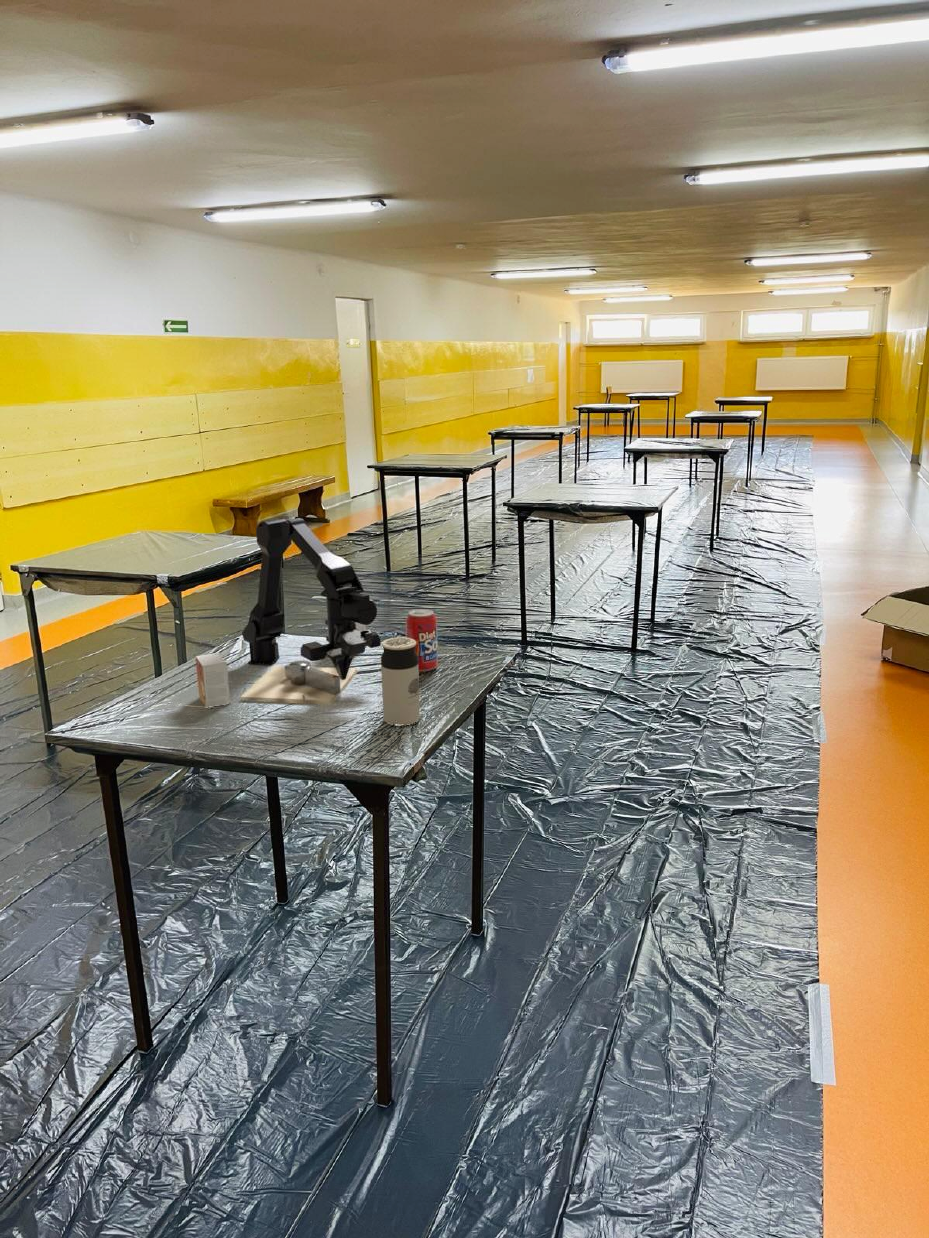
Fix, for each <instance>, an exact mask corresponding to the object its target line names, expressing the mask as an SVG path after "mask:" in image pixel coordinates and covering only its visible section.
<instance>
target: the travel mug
mask: <svg viewBox="0 0 929 1238" xmlns="http://www.w3.org/2000/svg"><path fill="white" fill-rule="evenodd" d="M415 645H416V641H415V640H414V639H411V638H406V636H405V637H403V636H402V637H397V636H396V637H392V638H387V639H385V640H383V641H381V646H382V648H383V652H382V654H381V656H380V664H381V667H380V670H381V692H382V693H381V694H382V712H383V713H382V714H383V718H382V719H383V722H384V721H385V722H388V723H391V724H404V725H405V724H406V725H407V724H412V723H414V724H416V723H418V722H419V721H420V720H421V714H420V713H421V711H420V682H419V680H420V679H419V678H420V677H419V675H420V672H418V655H417V653H416V652H415ZM419 719H420V720H419ZM385 722H384V723H385ZM415 722H416V723H415ZM412 725H413V724H412Z"/></svg>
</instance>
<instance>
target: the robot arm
mask: <svg viewBox="0 0 929 1238" xmlns="http://www.w3.org/2000/svg"><path fill="white" fill-rule="evenodd" d="M255 531H256V532H255V533H256V544H257V545H258V547H259V549H260V551H261V562H260V563H261V564H260V573H259V585H258V596H257V603H256V604H255V605H254V607H253V608H252V610H251V611H250V613H249V616H248V617H249V618H248V623H247V624H246V626H245V627H244V629H243V630H242V633H241V635H242V637H243V641H245V642H247V643H248V646H249V656H250V660H249V661H247V663H248V664H249V665H267V666H269V665H270V666H271V665H273V664H274V663H275V662H276V661H277V660H278V659H279V658H280V657H281V656H280V652H279V643H278V642H277V640H276V639H277V638H280V637H281V636H282V630H283V627H284V626H285V625H284V620H285V614H284V612H282V611H281V610H280V608H279V605H278V601H279V591H280V584H281V583H280V580H281V571H282V564H283V563H282V562H283V556H284V553H286V551H287V549H288V548H289V547H290V545H291V541H292V543H294V545H295V546H296V547H297V548H298V549H299V550H300V552H301V553H302V554H303V555H304V556H305V557H306V558H307V560H308V561H309V562H310V563H311V564H312V566H314V569H315V572H316V574H315V575H316V578H317V580H318V582H319V583H320V584H321V586H322V587H323V588H324V590H323V591H321V592H320V596H321V597H324V598H326V616H327V619H325V620H324V624H325V625H327V631H328V633H327V634H328V635H327V636H325V640H326V642H328V643H324V644H322V643H320V642H318V641H311V642H307V643H303V644H302V646H301V647H300V656H301V657H303V658H305V659H307V661H309V662H317V661H320V660H321V661H322V660H324V659H325V658H326V657H328V659H329V660H330V661H331V664H332V665H333V666H334V667H333V668H335V669H336V671H337V673H338V675H339V677H340V679H341V680H345V679H346V677H347V673H348V670H349V668H351V667H350V666H351V663H352V661H353V659H354V658H355V657H356V656H357V655H359V654H364V653H365V652H366V651H365V650H366V649H365V647H366V648H367V647H369V648H370V649H373V648H377V647H381V646H382V645H381V644H382V639H381V636H380V635H379V634H378V633H375V632H374V631H371V630H370V629H366V630H364V631H357V629H356V624H355V622H356V623H360V624H363V625H366V626H368V625H371V624H372V623H373V622H374V621H375V619H376V618H377V615H378V608H377V606H376V604H375V602H374V601H372V600H370V595H369V594H366V593H364V592H365V590H364V588H363V584H362V582H361V581H360V579H359V577H358V576H357V574H356V571H355V569H354V567H353V566H352V564H350V563H349V562H348V561H346V560H345V558H343V557H341V556H339V555H335V554H333V553H332V552H330V550H329V549H328V548H327V547H326V546H325V545H324V543H323V542H322V541H321V540H320V539H319V538H318V537H317V535H315V534H314V532H313V531H312V530H311V529H310V528H309V527H308V526H307V523H306V521H305V520H304V519H303V518H301V517H296V518H290V519H289V518H288V519H286V518H284V517H283V518H277V519H269V520H265V521H264V520H263V521H261V522H259V523H257V526H256V530H255ZM363 593H364V594H363ZM334 646H335V647H334Z"/></svg>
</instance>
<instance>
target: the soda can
mask: <svg viewBox="0 0 929 1238" xmlns="http://www.w3.org/2000/svg"><path fill="white" fill-rule="evenodd" d="M405 638H411V639H414V640H415V641H416V645H415V652H416V653H417V655H418V672H419V673H425V672H426V671H427V672H429V671H432V670H434V669H436V668H437V667H438V665H439V664H438V663H439V659H438V656H439V654H438V653H439V650H438V618H437V616H436V615H435V612H434V610H431V609H427V608H419V609H412V610H409V611H408V615H407V616H406V618H405ZM427 672H426V673H427Z"/></svg>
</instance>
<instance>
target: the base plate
mask: <svg viewBox="0 0 929 1238" xmlns="http://www.w3.org/2000/svg"><path fill="white" fill-rule="evenodd" d="M285 666H286V665H273V666H272V667H271V668H270V669H268V671H266V672H265V673H264V674H263V675H262V676H261V677H260V678H259V679H257V681H256V682H255V683H253V685H251V686H250V687H249V688H248V689H247V690H246V691H245V692H244V693H243V694H242V695H240V701H241V700H253V701H252V702H259V701H260V703H261V702H262V703H265V702H266V703H281V702H283V704H284V703H285V704H287V703H288V704H305V705H306V704H307V705H309V704H310V705H327V706H328V705H330V706H332V705H333V704H334V703H335V701H336V700H337V699H338V698H339V696H340V695H341V694H342V693H343V691H344V690H345V689H346V687H347V686H348V684H349V683H350V682H351V681H352V680H353V679H354V677H356V674H358V669H357V668H351V667H349V670H348V673H347V677H346V679H345V680H341V679H340V692H341V693H338V694H336V695H335V694H332V693H329V692H326V691H323V690H320V689H318V688H315V687H312V686H309V685H306V684H302V685H296V684H292V683H291V680H290V679H289V678H286V677H285ZM311 668H314V669H318V670H321V671H324V672H327V673H330V674H333V675H336V676H339V675H338V673H337V671H336V669H335V667H322V666H321V667H319V666H317V667H316V666H311Z"/></svg>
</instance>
